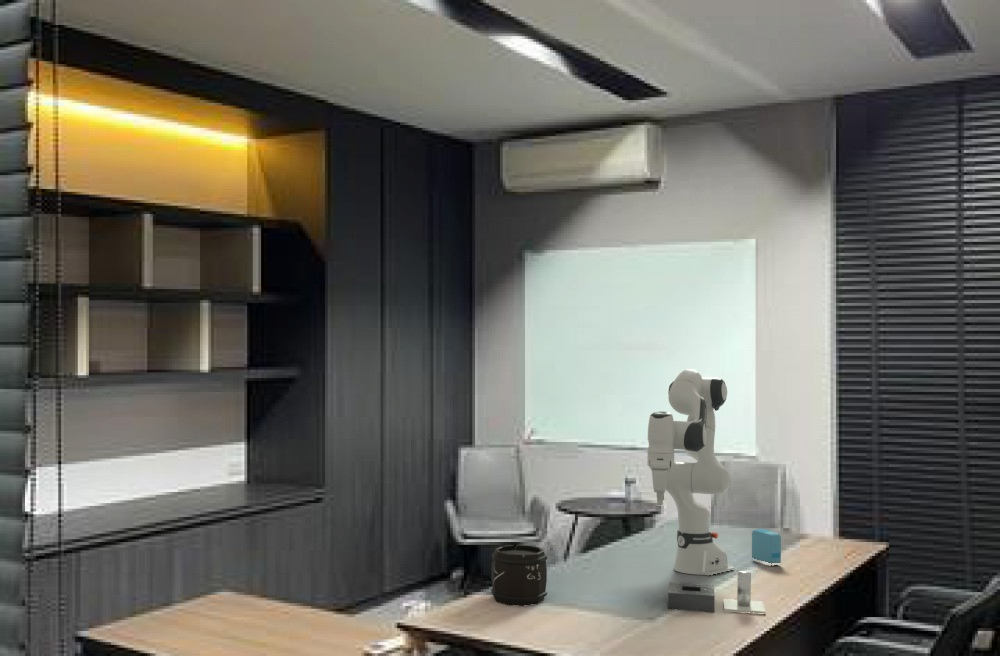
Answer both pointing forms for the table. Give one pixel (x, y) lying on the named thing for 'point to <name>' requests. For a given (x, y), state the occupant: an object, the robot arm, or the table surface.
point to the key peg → (744, 589)
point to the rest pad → (732, 606)
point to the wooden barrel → (519, 575)
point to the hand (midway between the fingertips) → (660, 502)
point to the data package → (766, 546)
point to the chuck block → (691, 597)
